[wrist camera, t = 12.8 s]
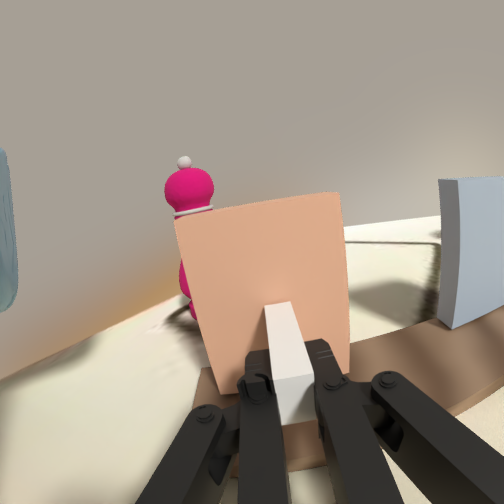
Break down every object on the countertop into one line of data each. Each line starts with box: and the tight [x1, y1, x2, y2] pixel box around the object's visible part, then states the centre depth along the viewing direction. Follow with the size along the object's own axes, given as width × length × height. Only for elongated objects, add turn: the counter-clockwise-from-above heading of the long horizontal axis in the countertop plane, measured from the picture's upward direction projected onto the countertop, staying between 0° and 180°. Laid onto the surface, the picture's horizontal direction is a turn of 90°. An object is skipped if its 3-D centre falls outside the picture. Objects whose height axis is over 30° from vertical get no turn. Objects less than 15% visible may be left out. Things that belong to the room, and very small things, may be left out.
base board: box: [192, 305, 504, 478], centre depth 16 cm, size 32×10×2 cm, turn 91°
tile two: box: [174, 192, 350, 395], centre depth 17 cm, size 9×3×12 cm, turn 91°
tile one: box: [437, 176, 504, 329], centre depth 17 cm, size 9×3×12 cm, turn 91°
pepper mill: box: [164, 156, 214, 320], centre depth 33 cm, size 7×7×20 cm
